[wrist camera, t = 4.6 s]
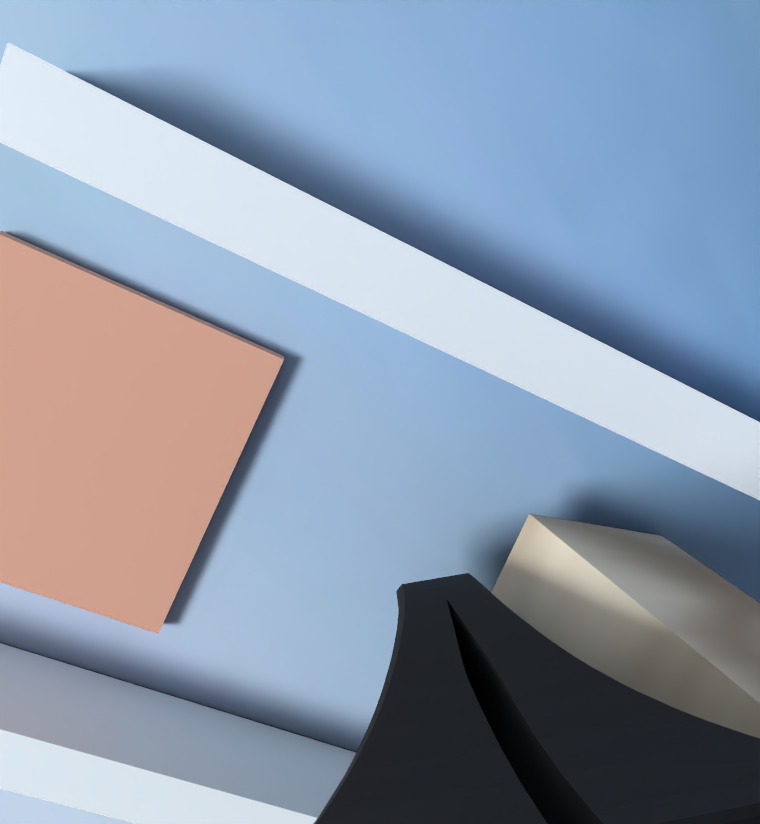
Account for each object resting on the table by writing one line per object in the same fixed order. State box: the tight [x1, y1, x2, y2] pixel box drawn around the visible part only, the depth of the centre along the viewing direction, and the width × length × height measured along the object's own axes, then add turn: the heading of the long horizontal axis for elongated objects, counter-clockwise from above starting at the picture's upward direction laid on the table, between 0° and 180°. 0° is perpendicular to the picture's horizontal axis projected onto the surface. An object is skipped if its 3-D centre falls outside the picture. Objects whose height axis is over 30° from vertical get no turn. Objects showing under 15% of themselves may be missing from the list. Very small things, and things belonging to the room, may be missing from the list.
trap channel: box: [0, 43, 760, 824], centre depth 13 cm, size 16×11×2 cm
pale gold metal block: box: [491, 514, 760, 738], centre depth 12 cm, size 4×5×5 cm
